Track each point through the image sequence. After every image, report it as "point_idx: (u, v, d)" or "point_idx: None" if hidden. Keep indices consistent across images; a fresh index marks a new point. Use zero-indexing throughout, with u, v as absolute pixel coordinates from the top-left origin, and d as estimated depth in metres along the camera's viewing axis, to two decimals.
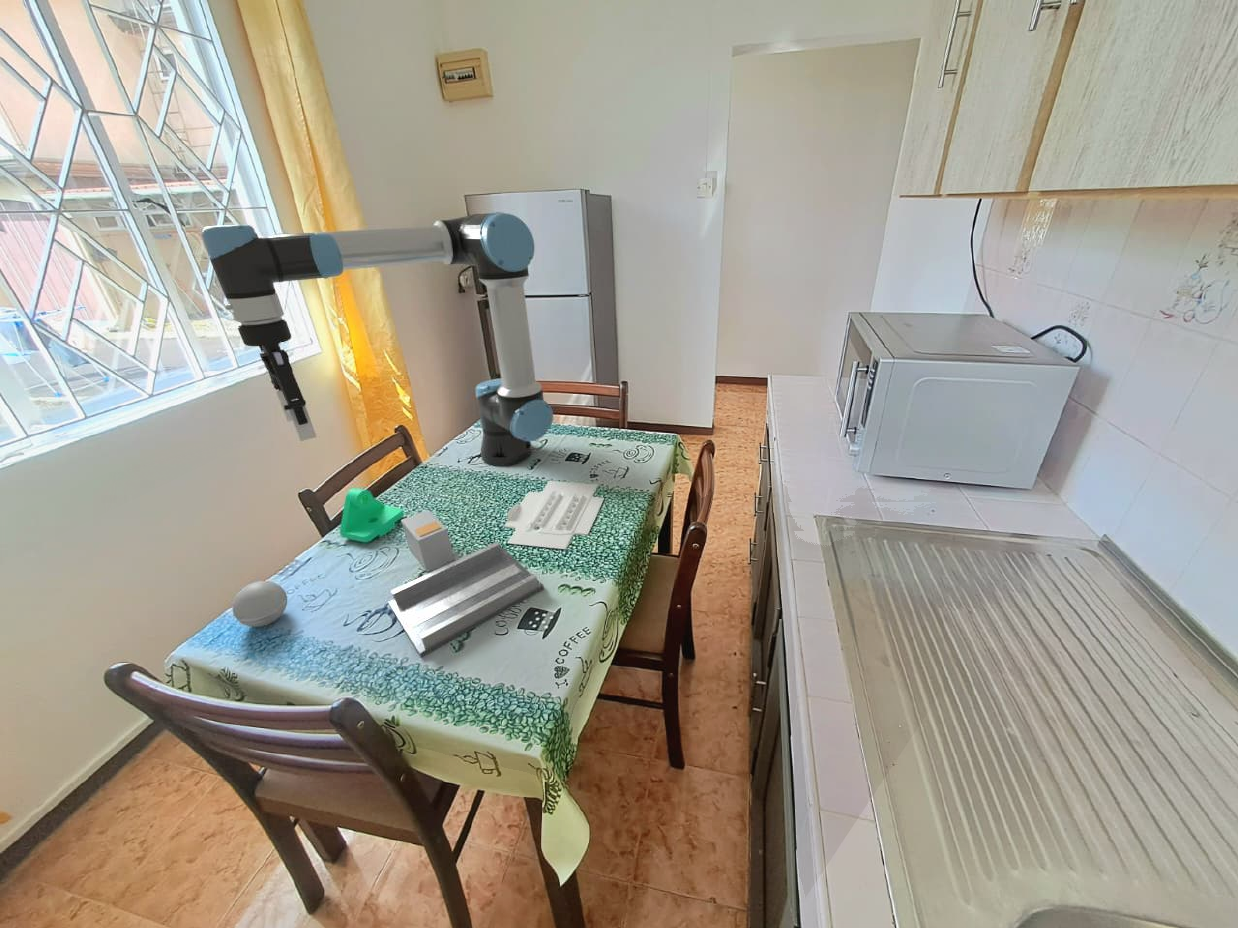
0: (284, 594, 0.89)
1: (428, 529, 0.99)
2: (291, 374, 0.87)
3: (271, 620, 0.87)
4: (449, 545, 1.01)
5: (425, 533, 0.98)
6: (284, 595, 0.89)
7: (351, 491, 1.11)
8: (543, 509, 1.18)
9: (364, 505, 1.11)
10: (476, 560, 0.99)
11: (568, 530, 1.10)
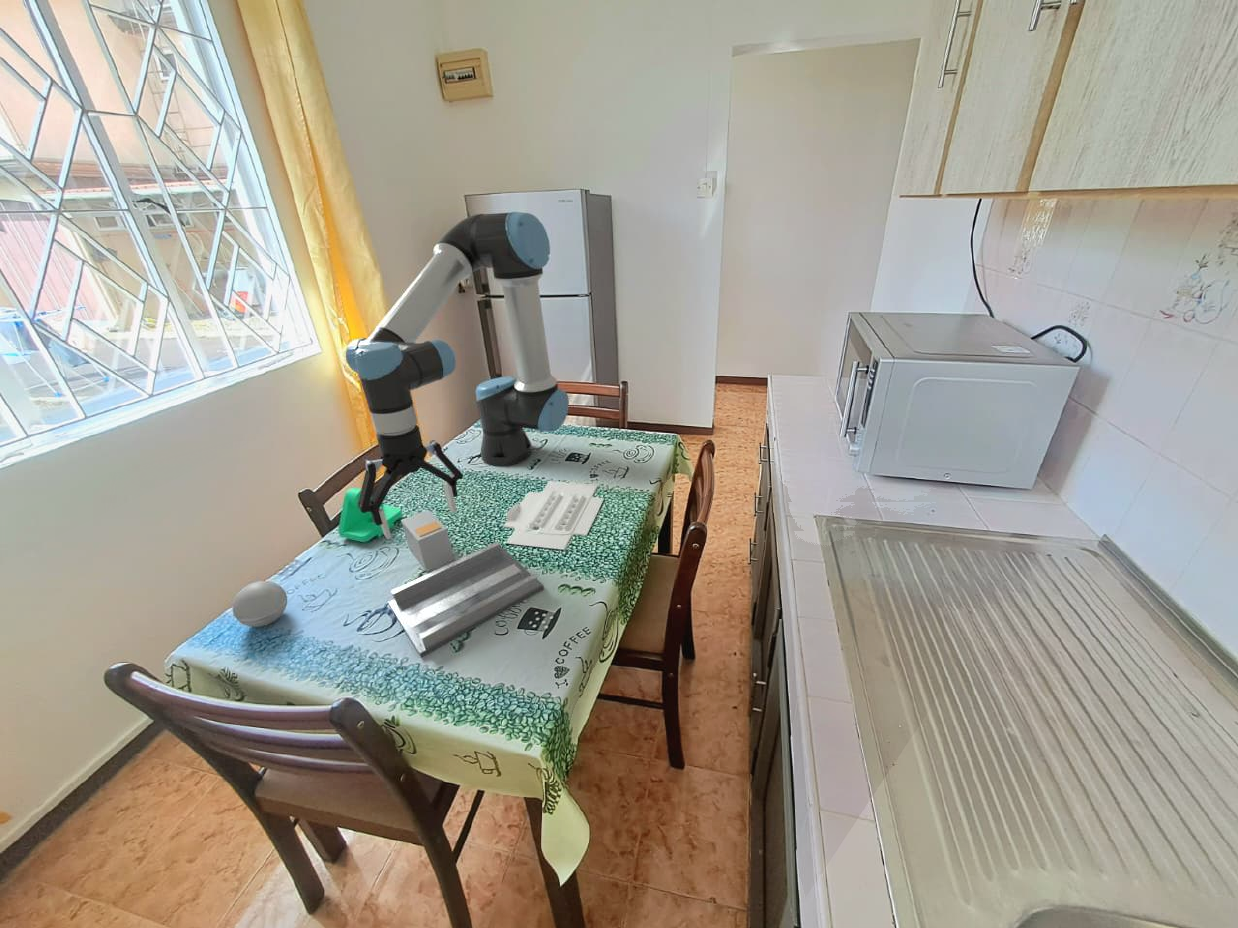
0: (284, 594, 0.89)
1: (428, 529, 0.99)
2: (366, 484, 0.90)
3: (271, 620, 0.87)
4: (449, 545, 1.01)
5: (425, 533, 0.98)
6: (284, 595, 0.89)
7: (350, 491, 1.11)
8: (542, 509, 1.18)
9: None
10: (476, 560, 0.99)
11: (567, 530, 1.10)
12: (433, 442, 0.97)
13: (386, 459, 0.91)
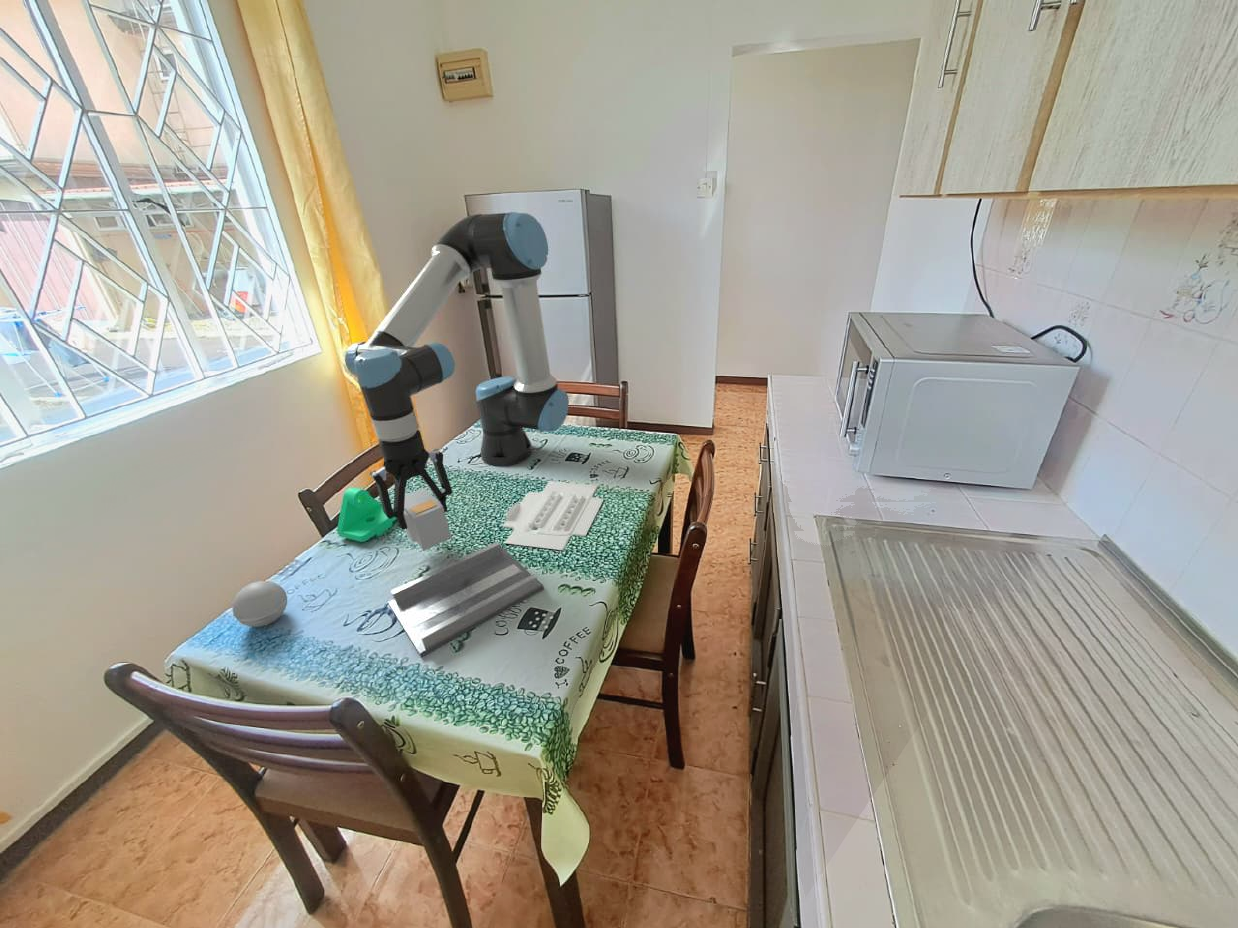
0: (284, 594, 0.89)
1: (424, 507, 0.97)
2: (381, 493, 0.93)
3: (271, 620, 0.87)
4: (446, 523, 1.00)
5: (421, 511, 0.96)
6: (284, 595, 0.89)
7: (349, 490, 1.11)
8: (542, 509, 1.18)
9: (361, 504, 1.12)
10: (476, 560, 0.99)
11: (566, 531, 1.10)
12: (437, 451, 0.98)
13: (388, 466, 0.92)
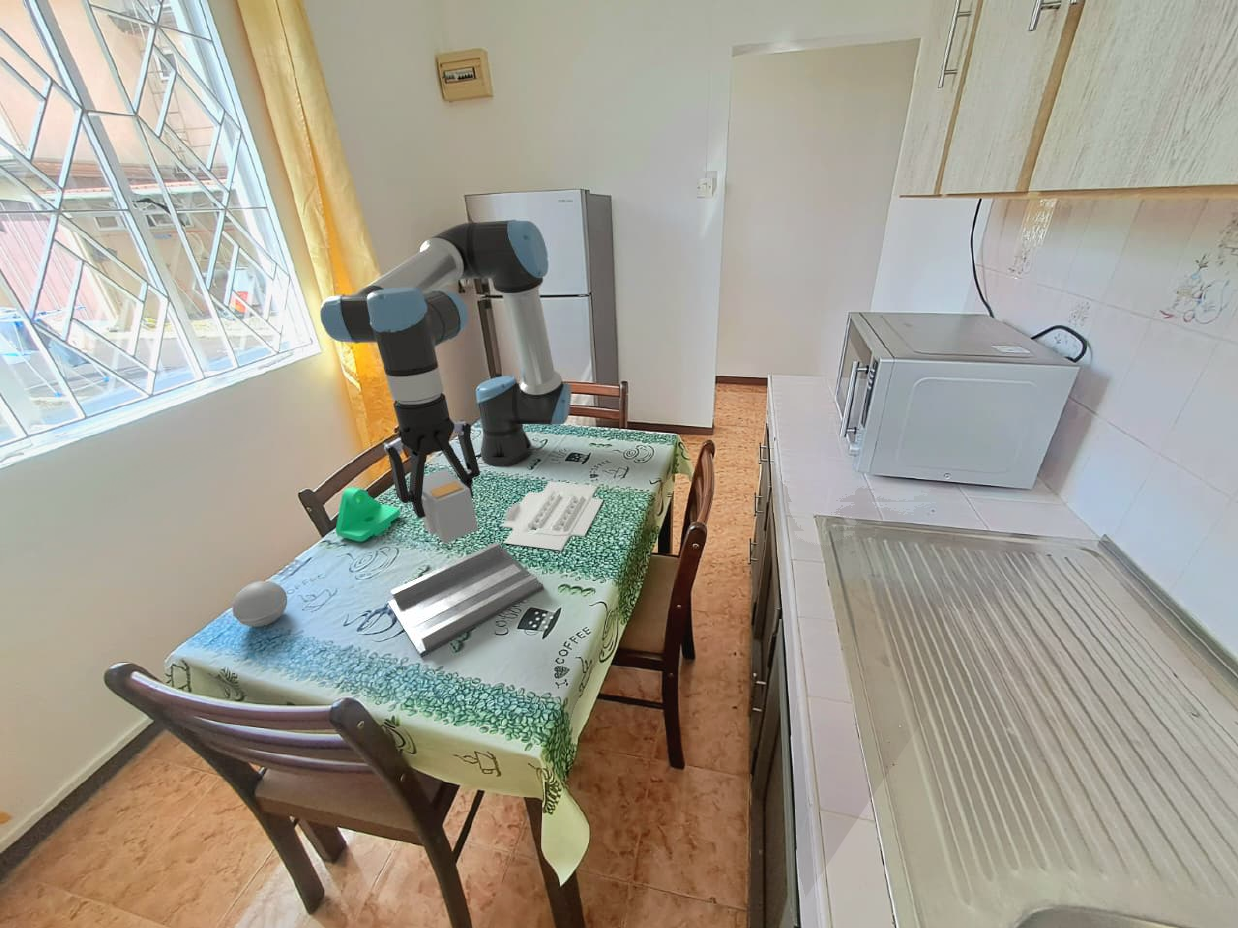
0: (284, 594, 0.89)
1: (446, 490, 0.79)
2: (395, 471, 0.75)
3: (271, 620, 0.87)
4: (472, 511, 0.81)
5: (443, 494, 0.78)
6: (284, 595, 0.89)
7: (347, 490, 1.11)
8: (541, 509, 1.18)
9: (360, 504, 1.12)
10: (476, 560, 0.99)
11: (565, 531, 1.10)
12: (463, 422, 0.80)
13: (404, 436, 0.74)
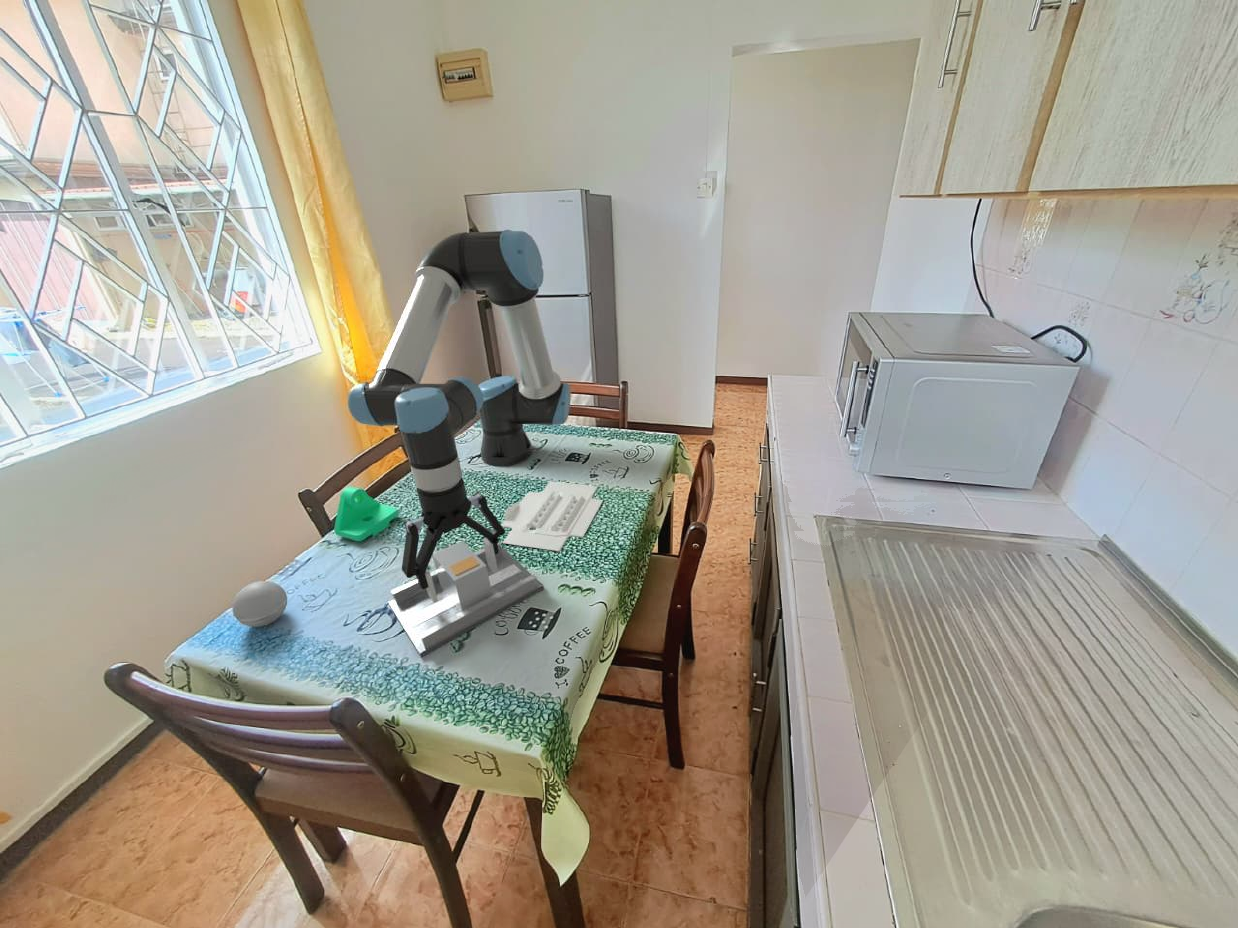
0: (284, 594, 0.89)
1: (465, 566, 0.87)
2: (409, 547, 0.80)
3: (271, 620, 0.87)
4: (488, 583, 0.89)
5: (462, 571, 0.85)
6: (284, 595, 0.89)
7: (346, 490, 1.11)
8: (541, 510, 1.18)
9: (358, 504, 1.12)
10: None
11: (564, 532, 1.10)
12: (478, 494, 0.87)
13: (427, 517, 0.81)
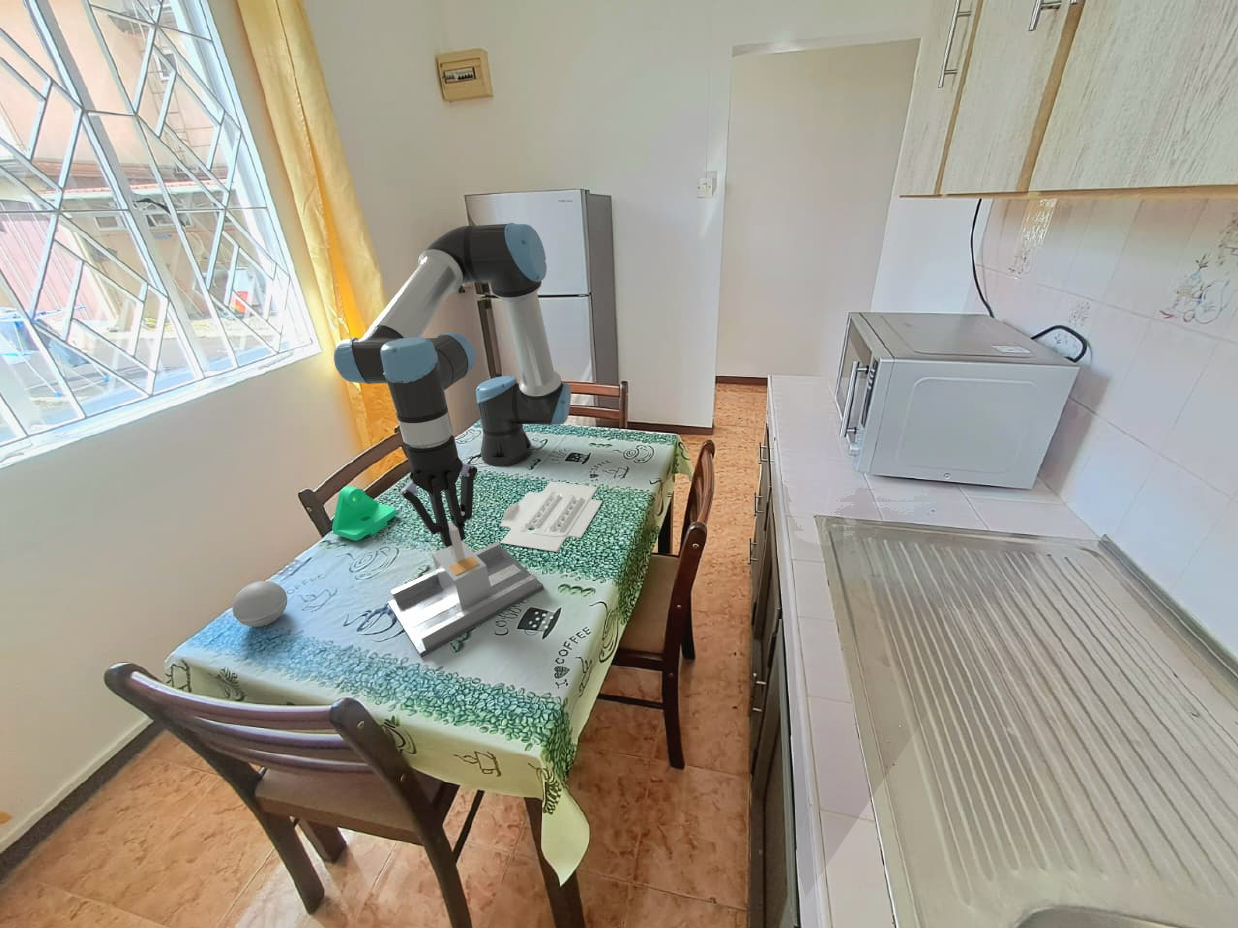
0: (284, 594, 0.89)
1: (465, 566, 0.87)
2: (417, 510, 0.79)
3: (271, 620, 0.87)
4: (488, 583, 0.89)
5: (462, 571, 0.85)
6: (284, 595, 0.89)
7: (344, 489, 1.12)
8: (540, 510, 1.18)
9: (356, 503, 1.12)
10: None
11: (562, 532, 1.10)
12: (471, 465, 0.84)
13: (415, 479, 0.77)
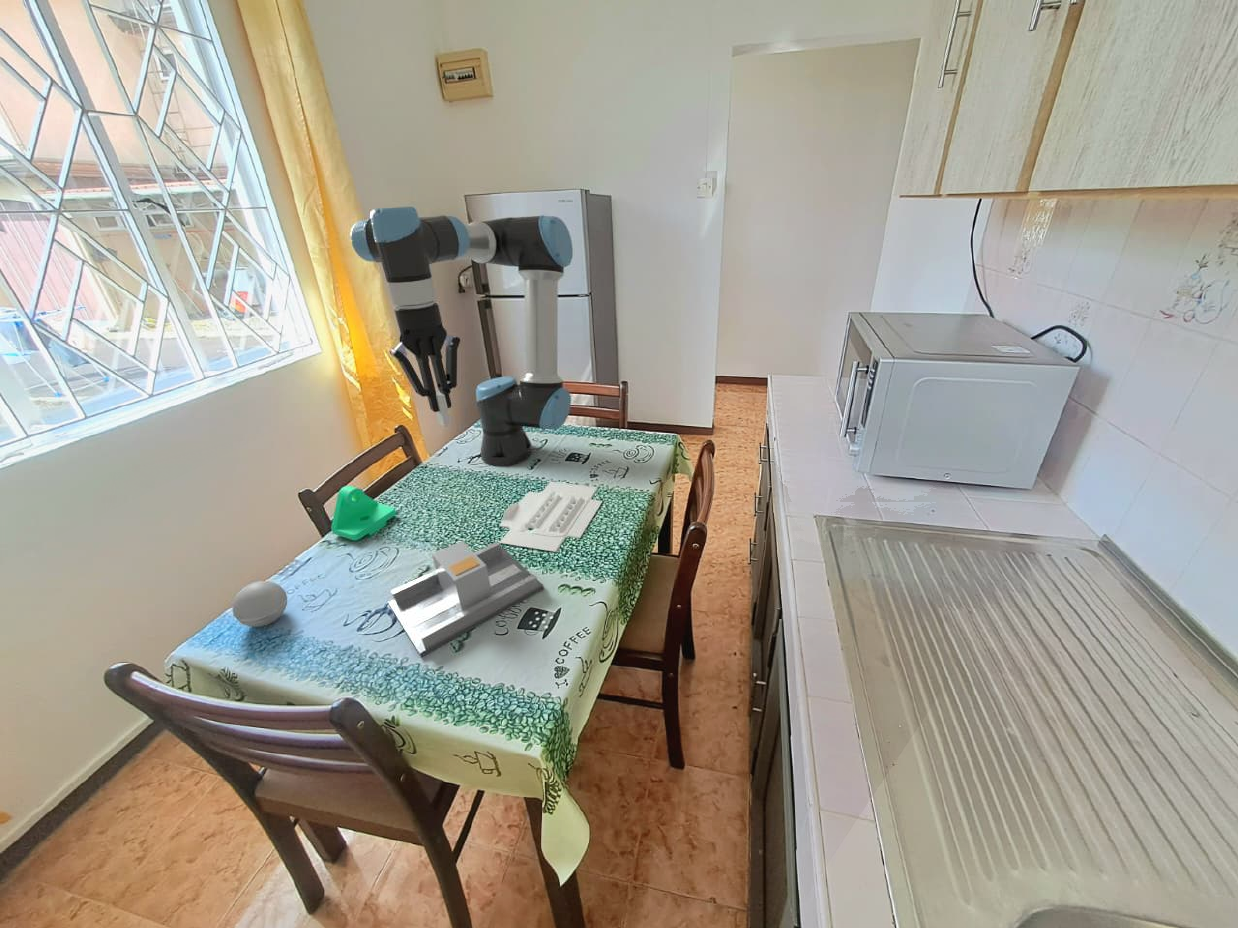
0: (284, 594, 0.89)
1: (465, 566, 0.87)
2: (407, 371, 0.89)
3: (271, 620, 0.87)
4: (488, 583, 0.89)
5: (462, 571, 0.85)
6: (284, 595, 0.89)
7: (343, 489, 1.12)
8: (540, 510, 1.18)
9: (355, 503, 1.12)
10: None
11: (561, 532, 1.10)
12: (454, 336, 0.94)
13: (404, 340, 0.87)
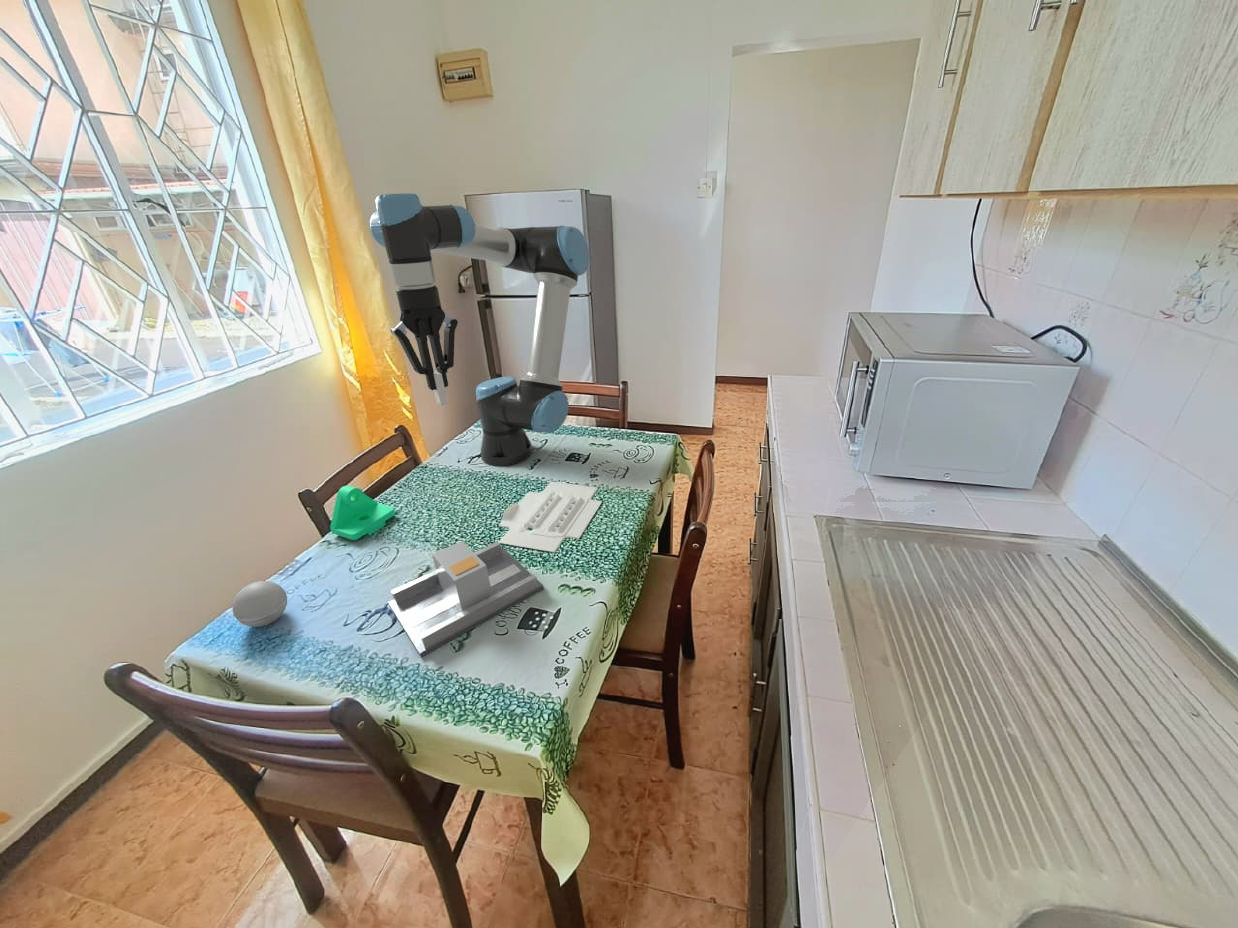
0: (284, 594, 0.89)
1: (465, 566, 0.87)
2: (406, 349, 0.95)
3: (271, 620, 0.87)
4: (488, 583, 0.89)
5: (462, 571, 0.85)
6: (284, 595, 0.89)
7: (342, 488, 1.12)
8: (539, 510, 1.18)
9: (354, 503, 1.13)
10: None
11: (560, 533, 1.10)
12: (452, 318, 0.99)
13: (404, 319, 0.92)
